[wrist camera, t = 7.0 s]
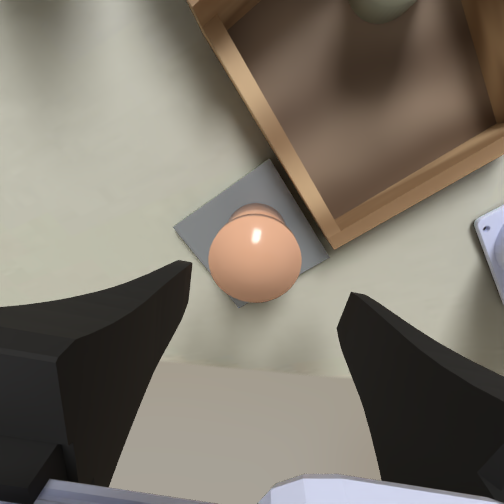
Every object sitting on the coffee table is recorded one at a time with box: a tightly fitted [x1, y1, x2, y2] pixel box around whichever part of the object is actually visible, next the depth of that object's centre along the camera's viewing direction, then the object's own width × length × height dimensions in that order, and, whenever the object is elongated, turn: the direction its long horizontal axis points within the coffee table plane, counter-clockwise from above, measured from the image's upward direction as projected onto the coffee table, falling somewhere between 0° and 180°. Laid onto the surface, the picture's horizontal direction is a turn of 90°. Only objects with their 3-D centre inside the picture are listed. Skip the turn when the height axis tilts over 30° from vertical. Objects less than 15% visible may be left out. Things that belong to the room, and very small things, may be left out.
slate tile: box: [173, 159, 330, 308], centre depth 20 cm, size 9×9×1 cm
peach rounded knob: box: [208, 203, 302, 303], centre depth 17 cm, size 5×5×6 cm
